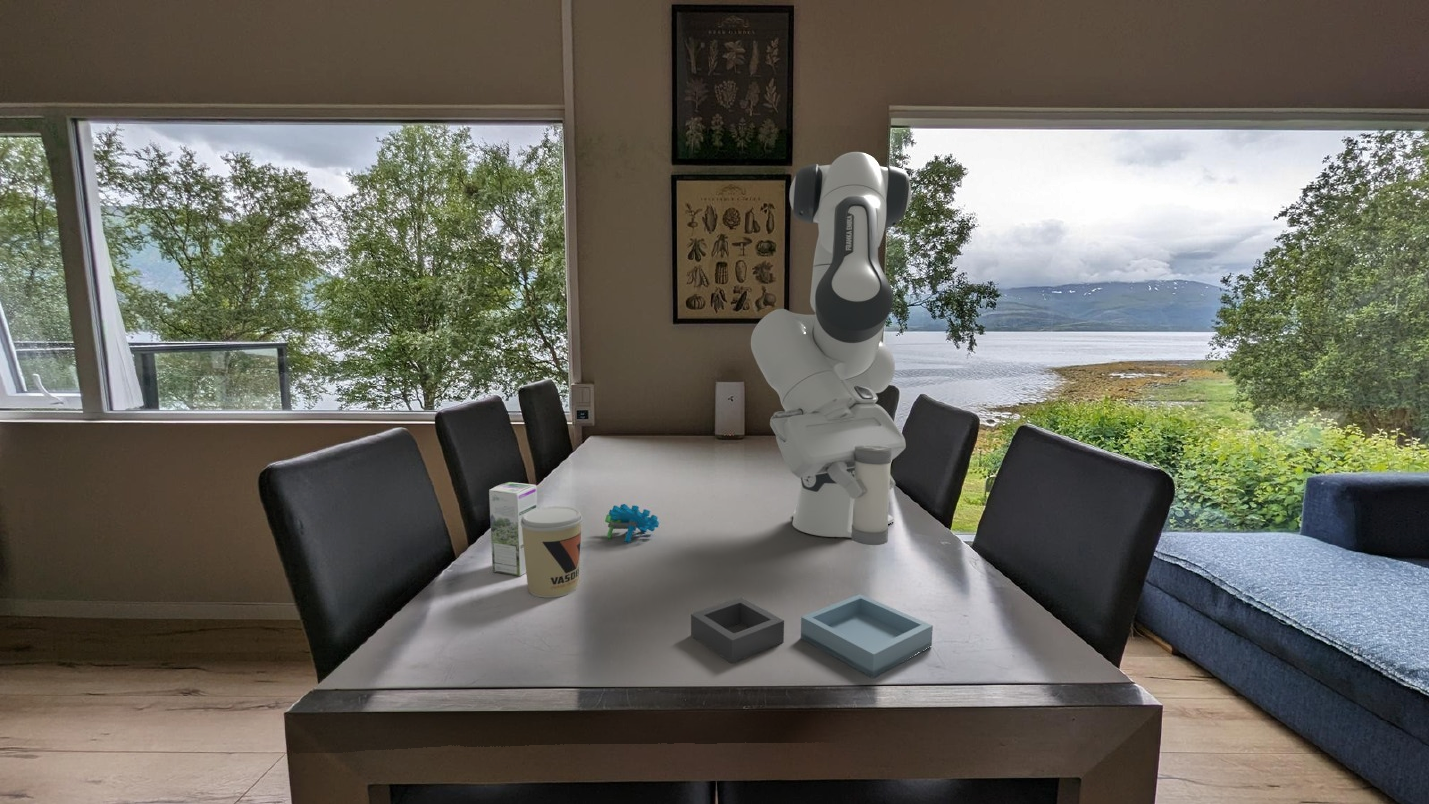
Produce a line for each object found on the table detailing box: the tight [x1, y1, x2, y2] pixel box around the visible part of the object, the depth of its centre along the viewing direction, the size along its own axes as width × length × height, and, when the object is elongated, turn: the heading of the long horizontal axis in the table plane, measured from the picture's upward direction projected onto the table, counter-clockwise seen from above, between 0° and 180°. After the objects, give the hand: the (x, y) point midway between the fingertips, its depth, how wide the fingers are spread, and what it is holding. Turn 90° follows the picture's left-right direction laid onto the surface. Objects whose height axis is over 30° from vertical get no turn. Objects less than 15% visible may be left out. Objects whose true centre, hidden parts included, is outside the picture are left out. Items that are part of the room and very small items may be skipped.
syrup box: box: [488, 481, 538, 577], centre depth 106 cm, size 6×6×14 cm
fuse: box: [850, 445, 893, 546], centre depth 81 cm, size 5×5×12 cm
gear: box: [604, 503, 660, 544], centre depth 122 cm, size 11×6×10 cm
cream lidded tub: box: [521, 506, 583, 599], centre depth 99 cm, size 9×9×12 cm
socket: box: [690, 597, 785, 664], centre depth 84 cm, size 9×9×3 cm
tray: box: [800, 593, 934, 679], centre depth 83 cm, size 12×12×3 cm
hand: (875, 492), depth 80 cm, fingers closed on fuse, 4 cm apart
